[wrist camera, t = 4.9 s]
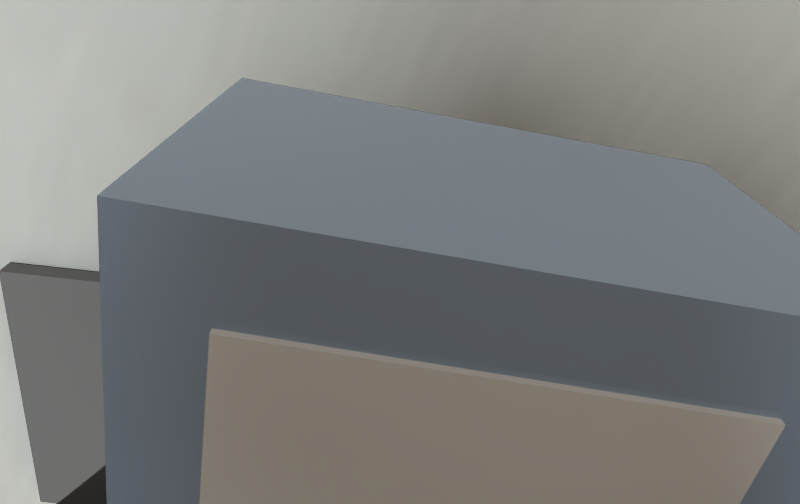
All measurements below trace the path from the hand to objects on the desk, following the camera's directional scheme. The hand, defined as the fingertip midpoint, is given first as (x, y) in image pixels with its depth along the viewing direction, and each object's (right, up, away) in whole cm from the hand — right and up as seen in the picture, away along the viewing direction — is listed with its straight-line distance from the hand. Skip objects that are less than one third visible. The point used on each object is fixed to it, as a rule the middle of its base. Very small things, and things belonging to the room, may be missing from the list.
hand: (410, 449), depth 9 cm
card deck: (0, 0, +1) cm, 1 cm away
